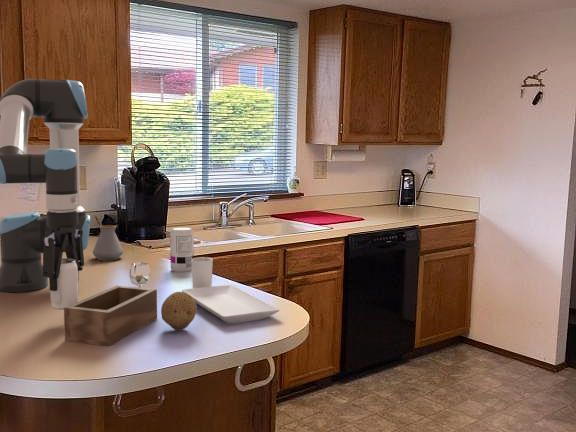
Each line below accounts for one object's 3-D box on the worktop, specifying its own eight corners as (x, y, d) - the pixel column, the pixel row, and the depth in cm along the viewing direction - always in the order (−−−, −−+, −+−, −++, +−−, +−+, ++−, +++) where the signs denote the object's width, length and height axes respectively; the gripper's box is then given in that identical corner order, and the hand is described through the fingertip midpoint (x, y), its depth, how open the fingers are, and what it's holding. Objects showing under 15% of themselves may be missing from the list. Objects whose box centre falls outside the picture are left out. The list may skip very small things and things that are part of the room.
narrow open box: (64, 340, 149) (63, 307, 148) (117, 314, 171) (116, 285, 170) (109, 346, 145) (108, 312, 144) (157, 318, 167) (156, 289, 166)
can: (70, 310, 158) (68, 264, 156) (46, 308, 159) (45, 262, 158) (83, 303, 164) (82, 258, 163) (60, 301, 166) (59, 257, 164)
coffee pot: (127, 260, 242) (127, 221, 240) (97, 262, 236) (96, 223, 234) (110, 250, 260) (109, 214, 258) (82, 253, 254) (81, 216, 252)
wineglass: (140, 308, 176) (139, 266, 175) (125, 305, 179) (124, 264, 178) (154, 304, 181) (154, 263, 180) (140, 301, 184) (139, 260, 183)
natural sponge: (195, 336, 153) (195, 296, 152) (158, 336, 153) (158, 296, 151) (197, 325, 162) (197, 287, 161) (162, 325, 162) (162, 287, 160)
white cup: (196, 294, 193) (196, 262, 192) (188, 289, 199) (187, 258, 197) (216, 291, 197) (216, 260, 195) (207, 287, 202) (207, 256, 201)
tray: (231, 294, 195) (231, 283, 195) (280, 321, 168) (281, 308, 168) (180, 300, 187) (180, 289, 186) (222, 330, 160) (223, 316, 159)
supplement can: (166, 271, 224) (165, 229, 222) (178, 266, 232) (178, 226, 230) (185, 273, 221) (185, 231, 219) (197, 268, 229) (197, 228, 227)
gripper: (50, 216, 148) (53, 310, 151) (97, 206, 166) (99, 290, 170) (23, 214, 150) (27, 307, 153) (72, 204, 168) (75, 288, 172)
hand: (65, 298), depth 161 cm, fingers closed on can, 6 cm apart
